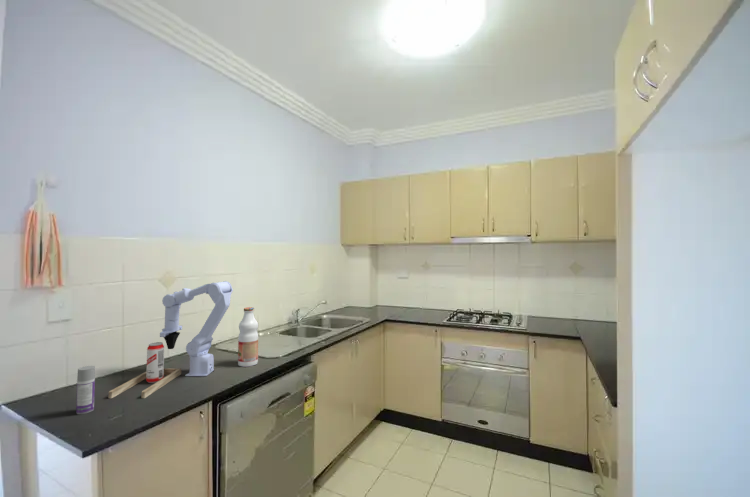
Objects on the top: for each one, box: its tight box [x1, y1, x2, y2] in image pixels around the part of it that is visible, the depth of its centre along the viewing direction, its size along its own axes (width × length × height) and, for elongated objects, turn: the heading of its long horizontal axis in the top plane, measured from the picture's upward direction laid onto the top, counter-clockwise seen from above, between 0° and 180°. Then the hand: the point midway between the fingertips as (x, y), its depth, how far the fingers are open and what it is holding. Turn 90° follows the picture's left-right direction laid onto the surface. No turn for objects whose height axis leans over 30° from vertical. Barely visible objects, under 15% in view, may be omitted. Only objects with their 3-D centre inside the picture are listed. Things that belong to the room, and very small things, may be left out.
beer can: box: [145, 341, 165, 384], centre depth 142 cm, size 6×6×16 cm
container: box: [75, 365, 96, 415], centre depth 115 cm, size 5×5×15 cm
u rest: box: [108, 368, 182, 399], centre depth 137 cm, size 13×25×2 cm, turn 2°
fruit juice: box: [237, 306, 259, 368], centre depth 165 cm, size 9×9×28 cm
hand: (170, 348), depth 154 cm, fingers closed
